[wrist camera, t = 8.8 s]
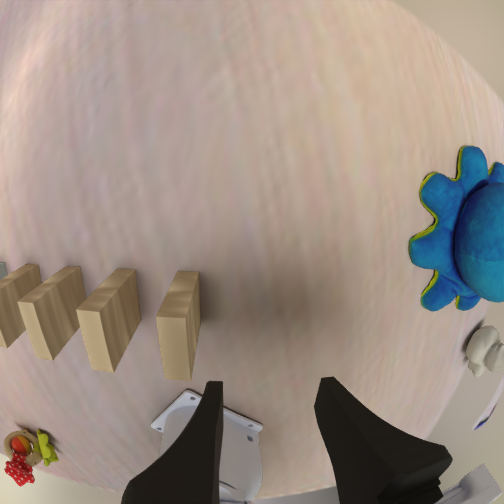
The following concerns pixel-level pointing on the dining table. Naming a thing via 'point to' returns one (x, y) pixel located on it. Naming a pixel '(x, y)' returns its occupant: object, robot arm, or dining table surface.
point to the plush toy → (463, 234)
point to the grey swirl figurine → (485, 351)
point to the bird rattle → (27, 454)
